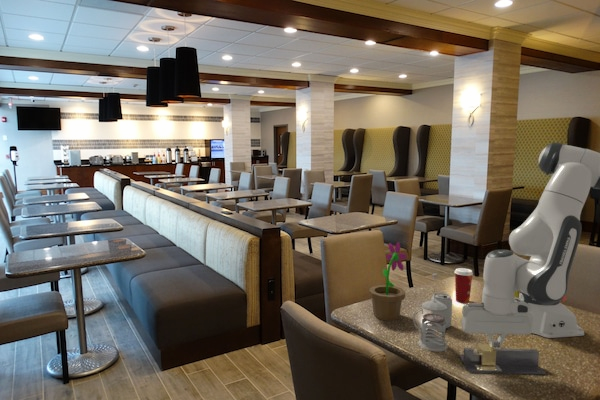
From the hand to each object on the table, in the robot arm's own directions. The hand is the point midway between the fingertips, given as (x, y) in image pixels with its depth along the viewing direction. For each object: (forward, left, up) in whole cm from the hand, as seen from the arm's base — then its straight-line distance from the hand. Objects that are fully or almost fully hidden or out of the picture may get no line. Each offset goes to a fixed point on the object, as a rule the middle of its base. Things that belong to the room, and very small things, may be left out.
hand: (495, 346), depth 127 cm
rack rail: (-2, 0, -6) cm, 6 cm away
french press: (+16, -13, -6) cm, 22 cm away
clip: (+3, 0, -5) cm, 6 cm away
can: (+8, -29, -6) cm, 31 cm away
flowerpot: (+27, -38, -6) cm, 47 cm away
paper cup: (-9, -56, -6) cm, 57 cm away
